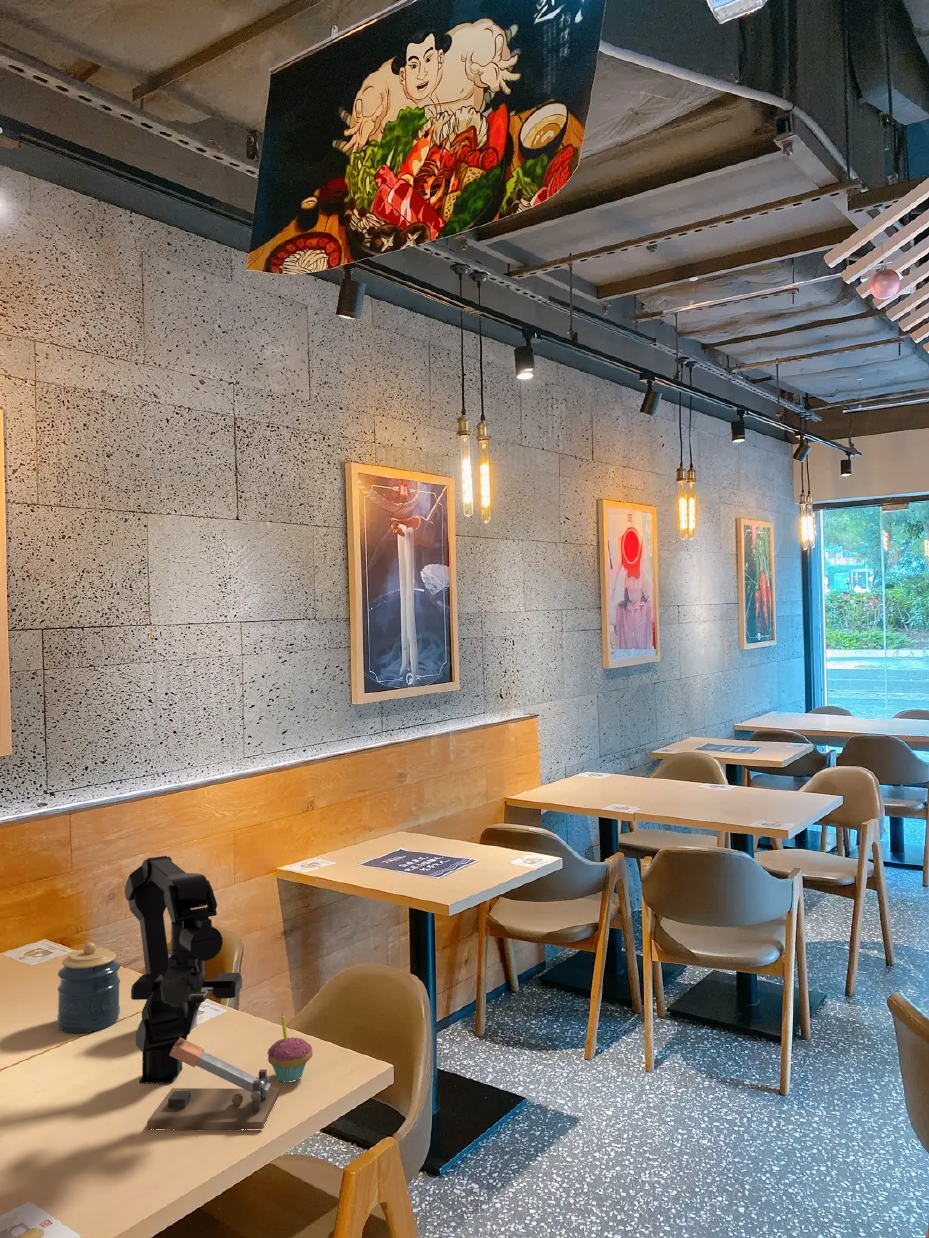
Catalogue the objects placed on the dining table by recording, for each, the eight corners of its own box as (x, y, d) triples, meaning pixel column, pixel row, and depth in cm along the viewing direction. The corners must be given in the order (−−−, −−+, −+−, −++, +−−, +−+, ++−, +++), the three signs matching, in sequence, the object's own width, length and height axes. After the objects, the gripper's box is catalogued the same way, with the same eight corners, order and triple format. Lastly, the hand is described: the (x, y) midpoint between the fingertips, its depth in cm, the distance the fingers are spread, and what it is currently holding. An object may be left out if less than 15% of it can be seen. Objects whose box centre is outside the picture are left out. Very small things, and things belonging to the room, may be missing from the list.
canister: (132, 1018, 204) (132, 939, 205) (81, 1039, 193) (81, 955, 194) (96, 1007, 211) (96, 930, 212) (44, 1026, 200) (45, 945, 201)
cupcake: (258, 1081, 173) (258, 1017, 173) (286, 1063, 180) (286, 1002, 181) (293, 1091, 169) (293, 1025, 169) (321, 1072, 176) (321, 1010, 177)
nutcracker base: (147, 1129, 155) (147, 1091, 155) (171, 1096, 167) (172, 1060, 167) (262, 1130, 154) (262, 1092, 155) (278, 1096, 166) (278, 1061, 167)
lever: (168, 1056, 160) (174, 1043, 160) (175, 1048, 163) (180, 1036, 163) (262, 1101, 159) (267, 1089, 159) (266, 1092, 162) (272, 1080, 162)
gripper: (119, 961, 156) (119, 1053, 155) (227, 960, 156) (227, 1052, 155) (142, 942, 167) (141, 1027, 166) (242, 940, 167) (242, 1026, 166)
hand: (187, 1033), depth 163 cm, fingers closed
